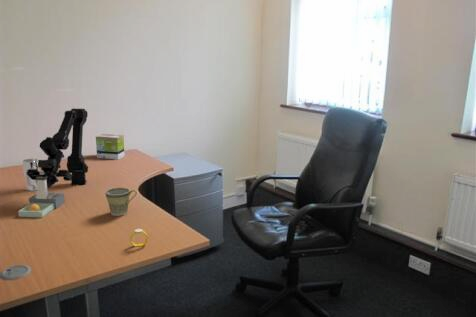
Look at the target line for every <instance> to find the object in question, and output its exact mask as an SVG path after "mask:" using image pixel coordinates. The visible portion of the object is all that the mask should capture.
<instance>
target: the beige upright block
mask: <svg viewBox="0 0 476 317" xmlns="http://www.w3.org/2000/svg"><path fill="white" fill-rule="evenodd" d="M46 179H47V177H36V181H37V190H35V194H36V199H47V198H48V197H47V196H49V193H50V192H49V189H48V190H47V181H46Z"/></svg>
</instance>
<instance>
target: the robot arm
mask: <svg viewBox="0 0 476 317" xmlns="http://www.w3.org/2000/svg"><path fill="white" fill-rule="evenodd" d="M87 119H88V110H86V109H85V108H71V109H70V110H65V111H64V117H63V120H62V121H61V124H60V126H59V129H58V131H57V132H55V134H53V136H52V137H51V136H50V137H49V136H46V137H45V139H43V140H42V141H41V142H39V148H40V149H41V151H42V152H43V153H44V154H45V155H46V156H47V159H37V160H38V167H39V169H40V170H41V171H40V170H39V171H38V170H37V169H28V170H27V173H26V174H27V175H28V176H29V177H30V178H31V179H32V180H36V177H47V179H46V181H47V190H48V191H49V189H50V188H51V187H52V186H54V185H55V184H56V183H58V182H59V178H62V179H63V180H64V181H67V182H69V181H70V183H71V185H72V186H79V185H80V186H83V185H86V184H87V182H88V181H87V178H86V173H89V172H88V171H89V166H88V165H87V163H86V161H85V157H84V155H83V154H82V153H83V152H82V149H83V132H84V130H83V128H84V125H85V124H86V122H87ZM71 130H72V133H71ZM70 133H71V134H72V139H71V153H70V155H68V156H67V161H66V168H67V169H61V166H62V165H61V163H62V159H64V158H65V155H64V152H63V151H62V150H64V151H65V150H67V149H68V148H69V147H70V139H69V135H70Z"/></svg>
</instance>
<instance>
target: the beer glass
mask: <svg viewBox="0 0 476 317" xmlns="http://www.w3.org/2000/svg"><path fill="white" fill-rule="evenodd" d="M38 160H39V159H38V158H28V159H24V160H23V159H22V169H23V174H24V177H25V180H26V191H28V192H34V191H35V192H36V191H37V181H36V180H32V179H31V178H30V177H29V176H28V175H27V174H26V173H27V170H28V169H37V170H38V171H39V172H40V167H38Z"/></svg>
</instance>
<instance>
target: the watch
mask: <svg viewBox="0 0 476 317" xmlns="http://www.w3.org/2000/svg"><path fill="white" fill-rule="evenodd" d="M135 234H136V235H137V234H138V235H139V234H144V235H145V240H144V242H142V243H136V244H135V242H133V241H132V240H133V237H134V235H135ZM129 238H130V239H129V242H130V243H131V245H132V246H133V247H135V248H136V247H144V246H145V245H146V244H147V242H148V239H149V238H148V234H147V233H146V231H144V230H143V229H142V228H136V229H134V231H133V232H132V233H131V234H130V236H129Z"/></svg>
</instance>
